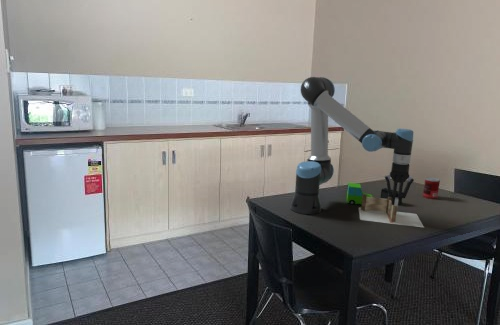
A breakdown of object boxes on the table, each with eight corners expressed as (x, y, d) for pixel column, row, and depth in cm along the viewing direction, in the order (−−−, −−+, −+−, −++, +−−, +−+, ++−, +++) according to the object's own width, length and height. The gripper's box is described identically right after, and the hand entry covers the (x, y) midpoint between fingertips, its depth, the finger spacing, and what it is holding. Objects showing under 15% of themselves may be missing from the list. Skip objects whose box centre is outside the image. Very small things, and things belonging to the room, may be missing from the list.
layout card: (360, 220, 182) (360, 219, 182) (358, 208, 200) (358, 207, 200) (424, 228, 176) (424, 227, 176) (416, 215, 195) (416, 213, 194)
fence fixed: (361, 210, 196) (362, 194, 194) (360, 209, 198) (362, 193, 196) (389, 213, 193) (391, 198, 191) (389, 212, 195) (391, 197, 193)
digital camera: (378, 201, 215) (380, 189, 213) (383, 199, 218) (385, 187, 217) (396, 206, 207) (398, 193, 206) (401, 204, 211) (403, 192, 209)
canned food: (438, 196, 229) (440, 178, 227) (436, 200, 222) (438, 181, 220) (423, 194, 233) (426, 176, 230) (421, 197, 226) (424, 179, 224)
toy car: (373, 208, 202) (375, 189, 200) (347, 205, 205) (349, 187, 203) (371, 202, 212) (373, 184, 210) (346, 199, 214) (348, 182, 212)
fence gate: (386, 212, 193) (388, 198, 191) (390, 213, 193) (392, 199, 191) (391, 221, 180) (393, 206, 179) (395, 222, 180) (397, 207, 179)
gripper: (387, 163, 177) (381, 212, 182) (417, 165, 174) (410, 215, 180) (385, 159, 184) (379, 207, 189) (414, 162, 182) (407, 210, 187)
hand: (394, 211), depth 185 cm, fingers closed
